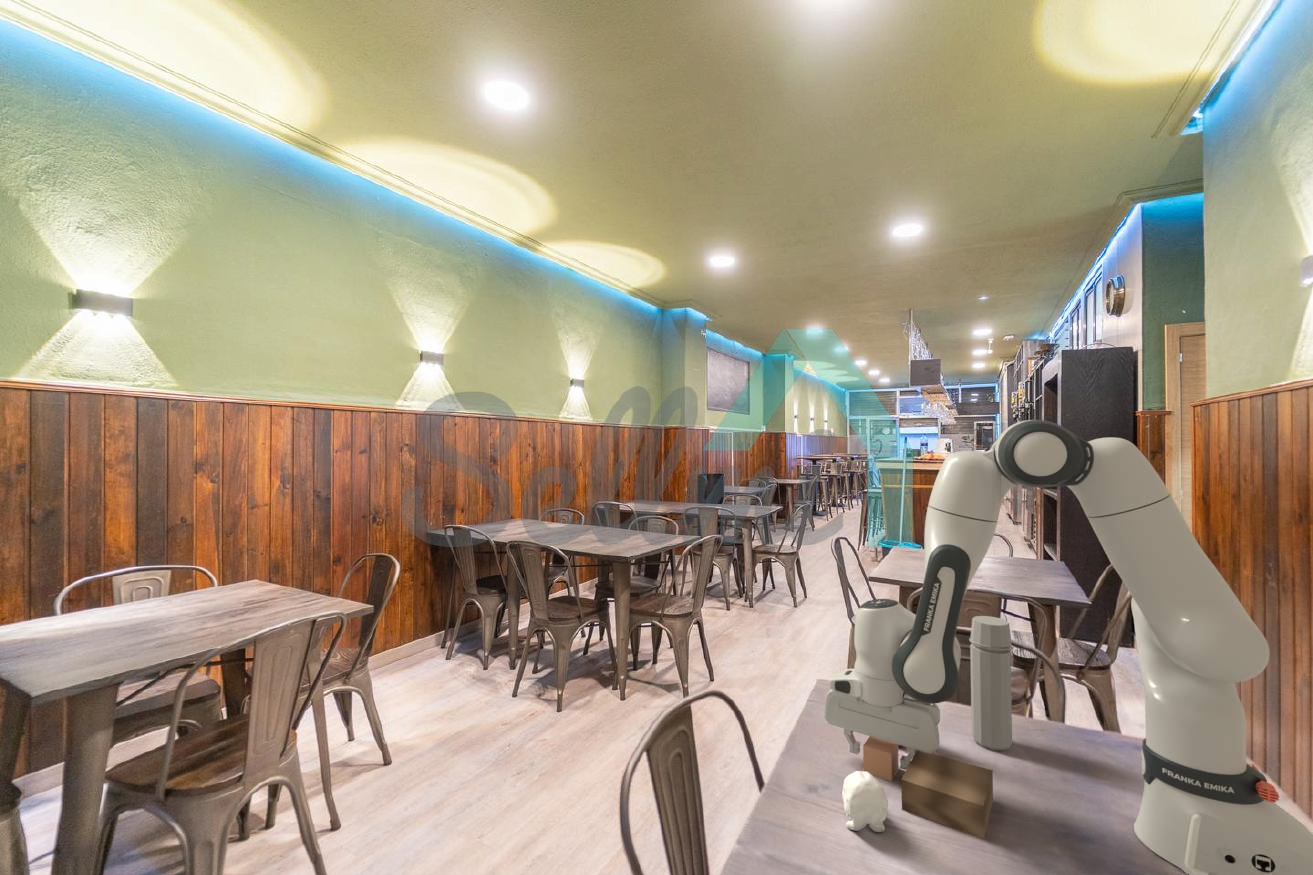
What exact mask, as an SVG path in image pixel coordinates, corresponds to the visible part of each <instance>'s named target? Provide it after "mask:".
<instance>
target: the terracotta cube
mask: <svg viewBox="0 0 1313 875" xmlns="http://www.w3.org/2000/svg"><path fill="white" fill-rule="evenodd" d="M862 750H863V753H862V754H863V771H866V772H869V773H870V774H871V775H872V776H873V777H876V778H880V779H884V780H887V781H890V782H892V781H893V779H894V778H895V776H896V774H897V772H898V771H899V767H900V763H899V747H898V744H895V743H891V742H888V741H885V740H881V739H878V738H874V737H871V736H868V737H867V739H866V741H865V743H864V744H863V745H862Z"/></svg>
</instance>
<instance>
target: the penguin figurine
mask: <svg viewBox="0 0 1313 875" xmlns="http://www.w3.org/2000/svg"><path fill="white" fill-rule="evenodd" d="M840 793H841V795H842V801H843V805H844V815H845V817H848V816H850V817H851V819H850V820H848V821H847V822H846V824H845V825H846V826H845V827H846V828H847V829H849V830H852V831H856V832H858V831H860V830H862V829H863V828H866V827H867V825H869V827H870V829H871V830H872V831H873V832H875V833H882V832H884V831H885V825H884V821H886V819H887V816H888V809H889V800H888V798H887V795H886V792H885V790H884V788H883V785H882V784H881V782H880V781H879V780H877V779H876V778H875V776H874V775H871V774H870V773H869V772H866V771H864V770H863V771H860V770H856V771H854V772H851V773H850V774H848V775H847V776H846V777H845V778H844V780H843V786H842V792H840Z"/></svg>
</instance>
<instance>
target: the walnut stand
mask: <svg viewBox="0 0 1313 875" xmlns="http://www.w3.org/2000/svg"><path fill="white" fill-rule="evenodd" d="M993 774H994V773H993V769H989V768H986V767H983V766H978V765H975V764H972V763H969V762H965V761H962V760H958V759H954V758H951V757H948V756H944V755H940V754H938V753H935V752H934V753H933V754H928V753H925V752H922V751H918V750H917V751H916V753H915V755H914V756H913V758H912V759H911V762H910V764H909V766H908V768H907V770H905V772H904V773H903V776H902V778H901V780H900V782H901V810H902V811H905V812H907V813H911V814H913V815H916V816H919V817H922V818H925V819H928V820H931V821H932V822H936V823H939V824H941V825H945V826H946V827H951V828H953V829H956V830H957V831H958V830H959V831H962V832H964V833H966V834H970V835H973V836H976V837H979V838H980V839H985V835H986V832H987V827H988V823H989V819H990V814H991V810H992V807H993V806H992V805H993V801H994V780H993V779H994V778H993V777H994V775H993Z"/></svg>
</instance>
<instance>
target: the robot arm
mask: <svg viewBox="0 0 1313 875" xmlns="http://www.w3.org/2000/svg"><path fill="white" fill-rule="evenodd" d="M933 483H934V484H933V487H932V490H931V493H930V497H929V500H928V505H927V509H926V514H925V523H924V538H923V539H924V540H923V542H924V543H923V544H924V565H923V566H924V571H923V582H922V583H923V584H922V587H921V592H920V597H919V601H918V604H917V609H916V614H915V613H913V612H912V611H910V610H908V609H907V608H905V607H904V606H903V604H901V603H900V601H897V600H894V599H890V598H875V599H872V600H866V601H865V602H863V603H862V604H861V605H860V606H859V607H858V608H857V610H856V614H855V619H854V633H853V634H854V636H853V638H854V639H853V642H854V649H855V652H856V660H855V662H854V668H843V669H840V670H839V671H837V672H836V673H835V674H833V675H832V676H831V678H830V679H829V684H828V685H829V688H830V689H829V691H828V692H826V697H825V701H824V713H823V714H824V719H825V721H826V722H827V724H829V725H831V726H834V727H838V728H841V729H843V735H844V737H845V738H846V740H847V742H848V745H849V752H850V753H852V754H854V755H855V754H856V755H859V753H861V747H860V746H861V742H860V741H859V740H857V739H856V737H855V736H854V733H858V734H861V735H864V736H868V737H870V736H871V737H874V738H878V739H881V740H885V741H888V742H891V743H895V744H898V745H901V746H904V747H905V748H906V752H907V753H908V755H901V758H900V759H899V762H900V763H899V767H900V769H902V770H905V771H906V770H907V768H908V766H909V764H910V762H911V760H912V758H913V756H914V755H915V753H916V751H917V750H918V751H922V752H925V753H928V754H933V753H934V754H935V753H936V752H937V750H938V748H939V746H940V731H939V725H938V724H939V723H940V721H941V711H940V707H939V705H938V704H940V703H943V702H946V701H948V700H950V699H951V698H952V697H953V696H954V695H955V694H956V692H957V690H958V688H959V682H960V681H959V679H960V678H959V676H960V675H959V671H960V665H961V657H962V648H961V643H960V640H959V638H957V636H956V633H957V629H958V625H959V619H960V616H961V611H962V607H963V602H964V600H965V599H964V598H965V596H966V593H967V591H968V589H969V586H970V584H971V582H972V579H974V576H975V574H976V573H977V571H978V569H979V567H980V566H981V564H982V562H983V560H984V558H985V557H986V555H987V553H988V550H989V548H990V546H991V544H992V541H993V539H994V536H995V532H996V529H997V525H998V521H999V516H1000V512H1001V508H1002V504H1003V501H1004V499H1005V496H1007V495H1006V494H1008V492H1009V491H1011V489H1013V488H1015V487H1016V486H1026V487H1033V488H1053V487H1067V488H1068V489H1070V491H1071V492H1072V493H1073V494H1074V496H1075V497H1076V498H1077V500H1078V501H1079V503H1080V506H1081V508H1082V510H1083V512H1084V514H1085V517H1086V518H1087V520H1088V522H1089V524H1090V526H1091V527H1092V529H1093V532H1094V533H1095V535H1096V538H1097V539H1098V542H1099V544H1100V545H1101V546H1102V548H1103V551H1104V552H1105V554H1106V556H1107V558H1108V560H1109V562H1110V564H1111V566H1112V567H1113V568H1114V570H1115V571H1116V573H1117V574H1118V576H1119V577H1120V579H1121V580H1122V582H1123V583H1124V585H1125V587H1126V589H1127V590H1128V591H1129V594H1130V595H1131V601H1130V602H1131V603H1130V604H1131V605H1130V606H1131V612H1132V617H1133V624H1134V634H1135V640H1136V648H1137V654H1138V661H1139V667H1140V672H1141V678H1142V683H1143V693H1144V712H1145V714H1144V715H1145V716H1144V718H1145V724H1144V726H1145V738H1143V739H1142V744H1141V745H1142V747H1141V752H1140V753H1141V754H1140V755H1141V756H1140V758H1141V773H1142V776H1143V779H1144V784H1143V785H1144V786H1143V793H1142V798H1141V802H1140V808H1139V812H1138V814H1137V818H1136V819H1135V821H1134V824H1133V831H1134V833H1135V835H1136V836H1137V838H1138V839H1139V840H1140V841H1141V842H1142V843H1143V844H1144V845H1145V846H1146V847H1147V848H1148V849H1149V850H1150V851H1152V852H1153V853H1155V854H1156V855H1158V856H1159V857H1160V858H1163V859H1164V860H1165V861H1167V862H1169V863H1170V864H1172V865H1174V866H1175V867H1177V868H1179V869H1180V870H1182V871H1183V872H1185V874H1187V875H1188V874H1189V875H1313V833H1312V831H1310V830H1309V828H1308V827H1307V826H1306V825H1305V824H1303V823H1302V822H1301V821H1300V820H1298V819H1297V818H1296V817H1294V815H1291V814H1290V813H1289V812H1288V811H1286V810H1285V809H1284V808H1283V807H1281V806H1280V805H1279V804H1278V803H1277V802H1278V801H1280V794H1279V793H1278V791H1277V790H1276V787H1275V785H1272V784H1271V783H1270V782H1268V780H1267V778H1266V776H1265V775H1264V773H1262V772H1260V771H1259V769H1258V768H1257V766H1255V765H1254V764H1253V763H1252V764H1249V763H1247V731H1246V730H1247V728H1246V727H1247V726H1246V712H1245V709H1244V707H1243V704H1242V702H1241V700H1240V697H1239V694H1238V690H1237V687H1236V683H1237V684H1238V683H1242V682H1247V681H1250V680H1252V679H1255V677H1257V676H1259V675H1260V674H1261V673H1262V672H1263V671H1264V670H1265V669H1266V667H1267V666H1268V663H1269V661H1270V657H1271V656H1270V655H1271V654H1270V647H1269V644H1268V641H1267V639H1266V637H1265V636H1264V634H1263V633H1262V631H1261V630H1260V628H1259V627H1258V626H1257V624H1256V623H1255V622H1254V620H1253V619H1252V617H1251V616H1250V615H1249V614H1248V612H1247V611H1246V609H1245V607H1244V606H1243V604H1242V603H1241V602H1240V600H1239V599H1238V597H1237V595H1236V594H1235V593H1234V591H1233V590H1232V588H1231V587H1230V585H1229V584H1228V583H1227V581H1226V579H1225V578H1224V577H1223V575H1222V574H1221V572H1219V571H1218V569H1217V567H1216V566H1215V565H1214V564H1213V562H1212V561H1211V560H1210V558H1209V557H1208V556H1207V554H1206V553H1205V552H1204V550H1203V548H1202V547H1201V546H1200V544H1199V542H1198V541H1197V539H1196V537H1195V536H1194V534H1193V532H1192V531H1191V529H1190V527H1189V525H1188V524H1187V523H1188V522H1186V519H1185V518H1184V516H1183V515H1182V513H1181V511H1180V509H1179V507H1178V505H1177V503H1176V502H1175V500H1174V498H1173V496H1172V494H1171V493H1170V492H1169V490H1168V488H1167V486H1166V484H1165V483H1164V481H1163V479H1162V478H1161V477H1160V475H1159V474H1158V472H1157V471H1156V469H1155V468H1154V467H1153V465H1152V464H1151V462H1150V461H1149V460H1148V459H1147V457H1146V456H1145V455H1144V454H1143V453H1142V452H1141V451H1140V449H1139V448H1138V447H1137V446H1136V445H1135V444H1134V443H1133V442H1131V441H1130V440H1127V439H1125V438H1123V437H1114V436H1113V437H1110V436H1109V437H1101V438H1095V439H1091V440H1089V441H1086V440H1085V439H1083V438H1082V437H1080V436H1079V435H1077V434H1075V433H1074V432H1072V431H1071V430H1069V429H1068V428H1065V427H1064V426H1063V425H1061V424H1058V423H1055V422H1052V421H1049V420H1046V419H1045V420H1043V419H1028V420H1021V421H1018V422H1015V423H1014V424H1011V425H1010V426H1008V427H1006V428H1005V429H1004V430H1003V431H1002V432H1001V434H999V435H998V436H997V438H996V439H995V440H994V441H993V442H992V443H990V445H989V446H988V447H987V448H986V449H985V450H984V451H979V450H977V451H976V450H970V449H969V450H967V449H966V450H958V451H954V452H952V453H950V454H948V455H947V456H946V458H944V461H942V463H941V466H940V468H939V471H938V473H937V476H936V478H935V481H934V482H933Z"/></svg>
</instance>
